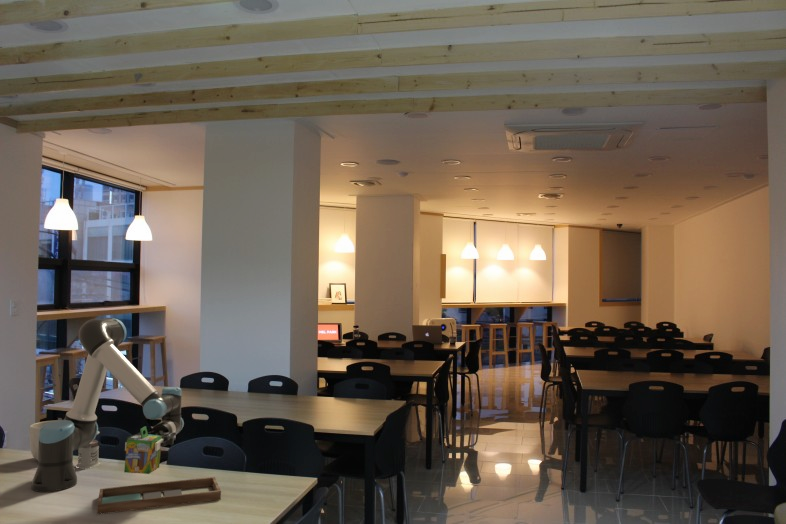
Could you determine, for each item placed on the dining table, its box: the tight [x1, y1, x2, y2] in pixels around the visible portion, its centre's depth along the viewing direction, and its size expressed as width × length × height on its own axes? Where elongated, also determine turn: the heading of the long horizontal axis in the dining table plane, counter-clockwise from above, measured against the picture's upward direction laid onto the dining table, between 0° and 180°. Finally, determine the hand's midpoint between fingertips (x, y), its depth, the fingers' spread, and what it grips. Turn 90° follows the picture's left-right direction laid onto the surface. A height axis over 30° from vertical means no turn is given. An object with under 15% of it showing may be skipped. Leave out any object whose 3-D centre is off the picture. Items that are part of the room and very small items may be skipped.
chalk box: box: [123, 426, 162, 475], centre depth 213 cm, size 9×9×15 cm
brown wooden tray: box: [96, 476, 222, 515], centre depth 216 cm, size 18×40×3 cm, turn 113°
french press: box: [75, 430, 101, 469], centre depth 257 cm, size 10×12×25 cm
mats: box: [142, 489, 183, 499], centre depth 216 cm, size 14×13×1 cm
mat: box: [102, 493, 142, 504], centre depth 211 cm, size 14×12×1 cm
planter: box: [29, 419, 60, 461], centre depth 265 cm, size 17×17×15 cm
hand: (141, 446), depth 210 cm, fingers closed on chalk box, 10 cm apart
